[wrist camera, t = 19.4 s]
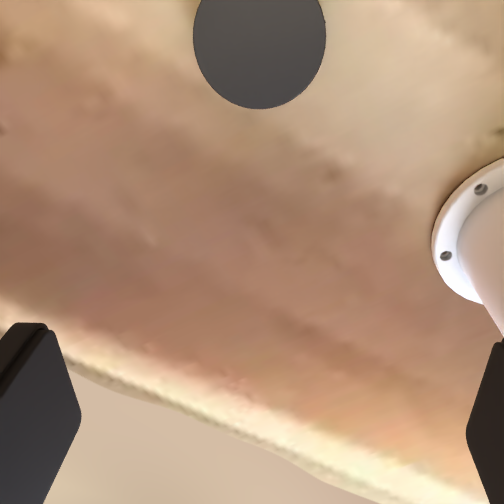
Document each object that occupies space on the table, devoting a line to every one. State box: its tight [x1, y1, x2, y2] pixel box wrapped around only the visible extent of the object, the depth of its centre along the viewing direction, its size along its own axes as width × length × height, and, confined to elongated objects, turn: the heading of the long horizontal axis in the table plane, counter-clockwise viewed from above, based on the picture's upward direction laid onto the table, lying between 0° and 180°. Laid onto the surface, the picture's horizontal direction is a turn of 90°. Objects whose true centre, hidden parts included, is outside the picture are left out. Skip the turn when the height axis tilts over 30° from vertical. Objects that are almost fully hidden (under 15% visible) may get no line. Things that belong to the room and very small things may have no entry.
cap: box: [193, 0, 326, 109], centre depth 26 cm, size 8×8×3 cm
